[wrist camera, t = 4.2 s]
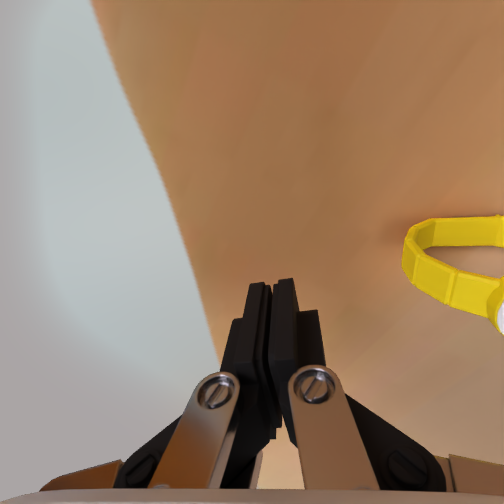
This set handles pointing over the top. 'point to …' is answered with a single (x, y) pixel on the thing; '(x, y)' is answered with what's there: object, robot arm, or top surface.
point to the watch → (449, 278)
